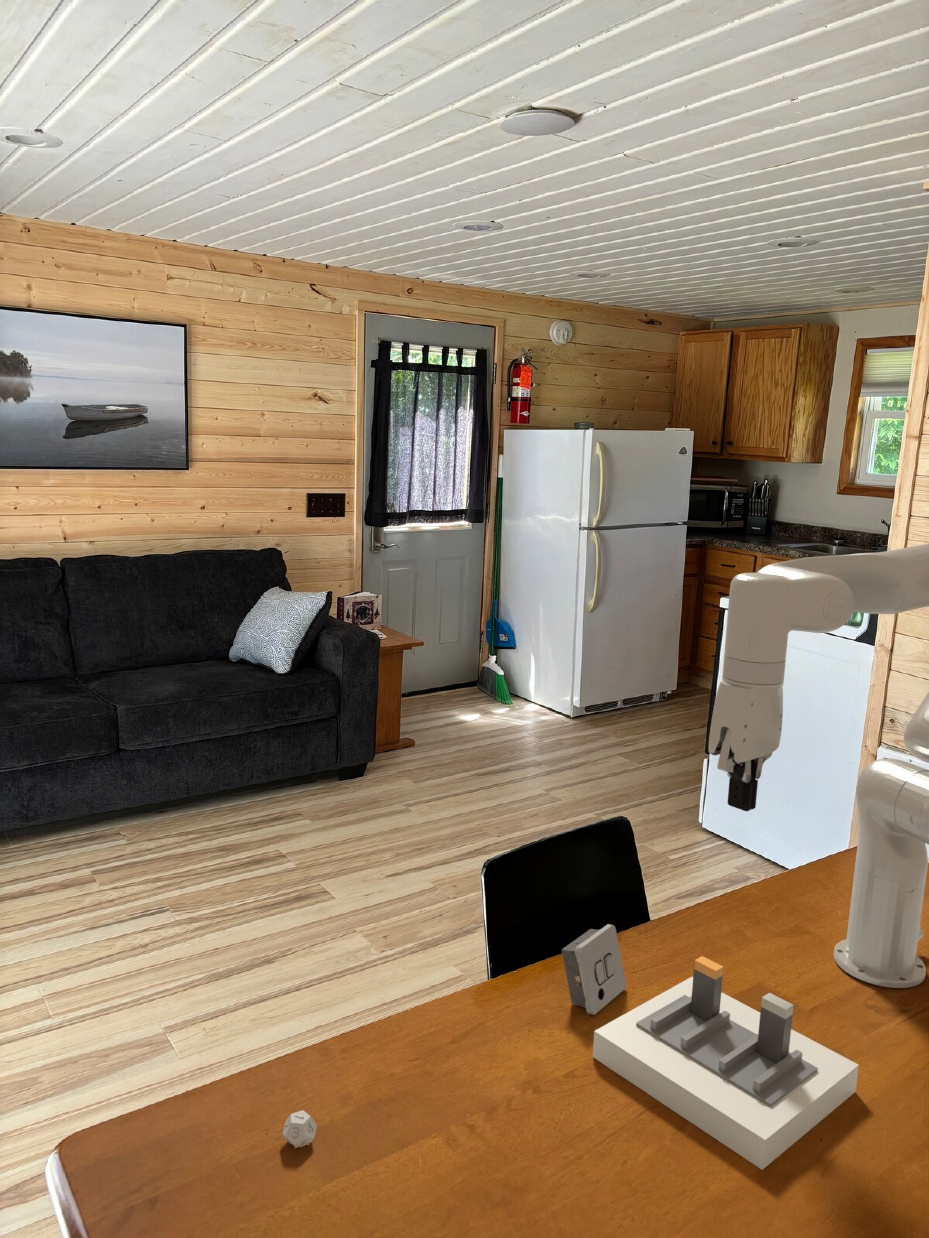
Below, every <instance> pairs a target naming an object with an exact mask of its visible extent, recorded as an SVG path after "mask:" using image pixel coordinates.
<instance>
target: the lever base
mask: <svg viewBox="0 0 929 1238" xmlns="http://www.w3.org/2000/svg"><path fill="white" fill-rule="evenodd" d="M692 986H693V976H690V977H689V978H686V979H685V980H683V981H682V982H679V983H678V984H676V985H674V986H672V987H670V988H669V989H666V990H665V991H663V992H661V993H660V994H658V995H656V996H654V997H652V998H651V999H649V1000H647V1001H646V1002H644V1003H642V1004H640V1005H638V1006H637V1007H634V1008H633V1009H631V1010H629V1011H627V1012H626V1013H623V1014H622V1015H620V1016H618V1017H617V1018H614V1019H613V1020H611V1021H609V1022H608V1023H605V1024H604V1025H602V1026H601V1027H599V1028H597V1029H595V1030H593V1032H594V1033H593V1045H592V1058H594V1059H595V1060H597V1061H598V1062H600V1063H601V1064H602V1065H604V1066H605V1067H607V1068H608V1069H610V1070H611V1071H612V1072H615V1073H616V1074H617V1075H619V1076H621V1077H622V1078H624V1080H626V1081H628V1082H630V1083H631V1084H633V1085H634V1086H636V1087H637V1088H638V1089H640V1090H642V1091H643V1092H644V1093H646V1094H648V1095H649V1096H650V1097H652V1099H653V1098H654V1099H655V1100H657V1102H660V1103H661V1104H662V1105H663V1106H666V1107H667V1108H669V1109H670V1110H671V1111H672V1112H675V1113H676V1114H678V1115H679V1116H681V1117H682V1118H684V1120H686V1121H688V1122H690V1124H692V1125H694V1126H695V1127H697V1128H699V1129H700V1130H702V1131H703V1132H705V1133H706V1134H707V1135H709V1136H710V1137H713V1139H716V1140H717V1141H718V1142H720V1143H721V1144H722V1145H724V1146H725V1147H727V1148H729V1149H730V1150H732V1151H733V1152H735V1153H736V1154H738V1155H739V1156H741V1157H743V1158H744V1159H745V1160H746V1161H748V1162H750V1163H751V1164H752V1165H754V1166H756V1167H757V1168H758V1169H760V1170H764V1169H765V1168H766V1167H768V1166H769V1165H770V1164H771V1163H772V1162H773V1161H775V1160H776V1159H777V1158H779V1157H780V1156H781V1155H782V1154H783V1153H784V1152H786V1151H787V1150H788V1149H789V1148H791V1146H793V1145H794V1144H796V1142H798V1141H799V1140H800V1139H802V1138H803V1136H804V1135H806V1134H807V1133H808V1132H810V1131H811V1130H812V1129H813V1128H814V1127H815V1126H817V1125H818V1124H819V1123H820V1122H821V1121H822V1120H824V1119H825V1118H826V1117H828V1116H829V1115H830V1114H831V1113H833V1111H835V1110H836V1109H837V1108H838V1107H840V1106H841V1105H842V1104H843V1103H845V1102H846V1100H848V1098H850V1097H851V1096H852V1095H854V1094H855V1093H856V1090H857V1082H858V1074H859V1066H860V1064H858V1063H856V1062H854V1061H852V1060H850V1059H848V1058H847V1057H845V1056H843V1055H842V1054H839V1053H837V1052H836V1051H833V1050H831V1049H829V1048H828V1047H826V1046H824V1045H822V1044H820V1043H818V1042H817V1041H815V1040H812V1039H811V1038H809V1037H807V1036H805V1035H803V1034H801V1033H799V1032H797V1030H796V1031H795V1030H794V1029H792V1025H793V1016H794V1015H793V1013H794V1004H793V1003H791V1002H789V1001H787V1000H785V999H783V998H781V997H779V996H778V995H775V994H773V993H771V992H768V993H766V994H765V995H763V996H761V1002H760V1003H761V1004H760V1012H759V1011H758V1010H756V1009H754V1008H752V1007H750V1006H748V1005H746V1004H745V1003H742V1002H741V1001H739V1000H737V999H736V998H733V997H731V996H729V995H728V994H725V993H724V992H722V991H721V1001H720V1013H719V1014H718V1015H717V1016H715V1017H713V1018H712V1019H710V1020H708V1021H706V1020H704V1019H703V1018H701V1017H699V1016H697V1015H696V1014H694V1013H692V1012H690V1010H691V998H692Z"/></svg>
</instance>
